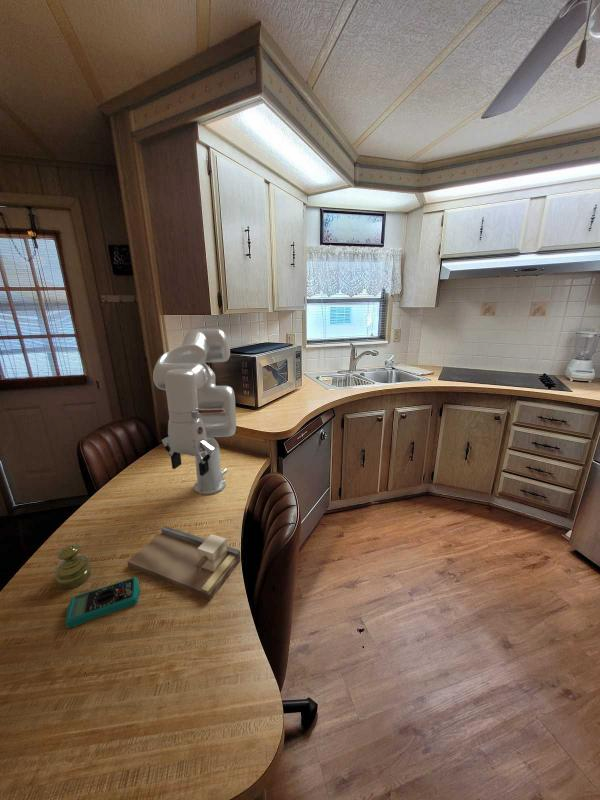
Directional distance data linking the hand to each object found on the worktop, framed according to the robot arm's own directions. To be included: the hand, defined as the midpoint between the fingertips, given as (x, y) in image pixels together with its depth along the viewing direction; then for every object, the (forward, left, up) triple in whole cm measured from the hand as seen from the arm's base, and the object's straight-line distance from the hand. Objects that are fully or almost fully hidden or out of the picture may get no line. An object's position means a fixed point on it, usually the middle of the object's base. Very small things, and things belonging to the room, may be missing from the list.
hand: (190, 470), depth 88 cm
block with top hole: (+7, +10, -23) cm, 27 cm away
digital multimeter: (+25, -8, -26) cm, 37 cm away
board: (+8, +2, -25) cm, 27 cm away
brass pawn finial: (+23, -22, -26) cm, 41 cm away
